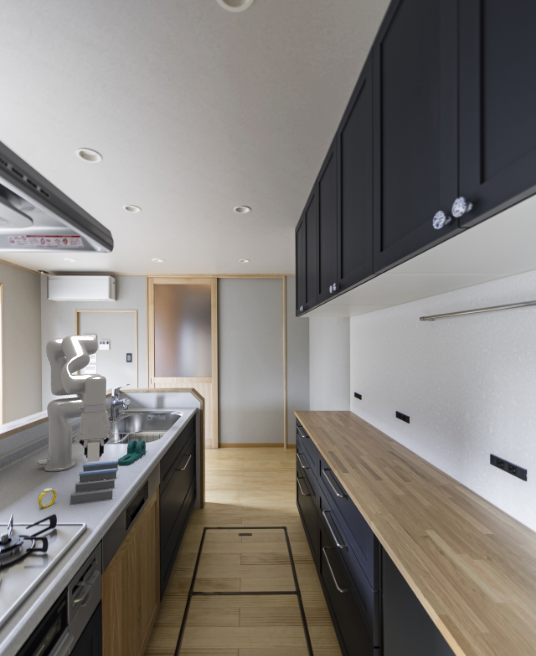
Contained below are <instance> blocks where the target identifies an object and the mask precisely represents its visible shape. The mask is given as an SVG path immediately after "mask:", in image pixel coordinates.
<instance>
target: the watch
mask: <svg viewBox="0 0 536 656" xmlns="http://www.w3.org/2000/svg"><path fill="white" fill-rule="evenodd" d="M47 493H52V495H53V496H52V499H51V500H50V502H49V503H47V504H45V505H43V504H42V500H43V498H44V496H45V495H46V494H47ZM56 499H57V492H56V490H54V489H53V488H52V487H47V488H44V489H43V491H42V492H41V493H40V495H39V497H38V498H37V504H38V506H39V507H40V508H44V509H45V508H48V507H50V506H53V504H54V503H55V501H56Z"/></svg>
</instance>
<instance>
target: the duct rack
mask: <svg viewBox="0 0 536 656" xmlns="http://www.w3.org/2000/svg"><path fill="white" fill-rule="evenodd" d="M118 467H119V465H118V460H110V461H101V462H99V461H97V462H91V463H90V462H87V463H83V464H82V468H83V469H82V470H83V471H80V472H79V474H78V476H79V482H82V483H78V482H77V483H75V485H74V493H71V494H70V496H69V499H70V500H69V505H78V504H85V503H91V502H92V503H93V502H99V501H100V500H101V501H108V500H113V498H112V497H113V494H114V493H113V492H114V491H113V489H115V484H116V482H115V480H116V479H117V471H118V469H119V468H118ZM113 478H116V479H113ZM104 479H108V480H104ZM97 480H99V481H97ZM88 481H91V482H88ZM109 488H111V489H109ZM102 489H103V490H102ZM94 490H95V491H94ZM85 491H87V492H85ZM107 499H108V500H107ZM101 501H100V502H101Z"/></svg>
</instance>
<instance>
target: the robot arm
mask: <svg viewBox="0 0 536 656" xmlns="http://www.w3.org/2000/svg"><path fill="white" fill-rule="evenodd" d="M98 349H99V343H98V340H97V339H96V337H94V336H93V335H88V334H87V335H84V334H83V335H77V334H76V335H74V334H72V335H68V336H65V337H64V338H63V337H62V338H60V337H59V338H53V339H50V340H49V341H47V342H46V345H45V353H46V357H47V360H48V362H49V365H50V391H51V394H52V395H53V396H55V397H56V396H58V397H60V396H72V395H74V397H64V398H63V397H62V398H57V399H53V400H51V401H49V403H48V404H47V407H46V412H47V418H48V453H47V454H48V458H45V459H38V460H37V465H39V466H43V469H44V471H46V472H61V471H65V470H69V468H70V469H71V468H74V467H75V466H76V461H75V460H72V459H73V440H74V441H75V442H77V443H79V444H81V446H82V447H83V450H84V451H83V453H84V454H83V456H85V459H87V453H88V442H89V440H92V439H100V442H101V444H100V451H99V456H100V458H102V455H103V454H104V453H105V444H107V443H108V442H109V441H110V440H112V439H114V438H115V434H114V433H113V431H112V430H111V429H110V420H109V419H110V418H109V412H108V410H107V402H106V401H107V378H106V377H105V376H103V375H101V374H99V373H89V374H88V373H86V374H81V373H80V374H74V373H75V372H79V371H80V370H82V369H84V368H86V367H87V366H89V363H90V361H91V358H90V356H92V355H94V354H96V353H97V351H98ZM75 395H76V396H75ZM73 418H80V419H79V420H80V421H79V431H78V433H77V434H76V435H75V437H74V438H73V426H72V424H71V423H70V422H69V421H68V419H73Z"/></svg>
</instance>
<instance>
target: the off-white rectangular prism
mask: <svg viewBox="0 0 536 656" xmlns="http://www.w3.org/2000/svg"><path fill="white" fill-rule="evenodd" d="M100 444H101V442H100V439H92V440H89V441H88V453H87V458H86V459H87V460H86V462H87V463H90V462H91V463H92V462H99V461H100V459H101V457H100V456H99V451H100Z"/></svg>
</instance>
